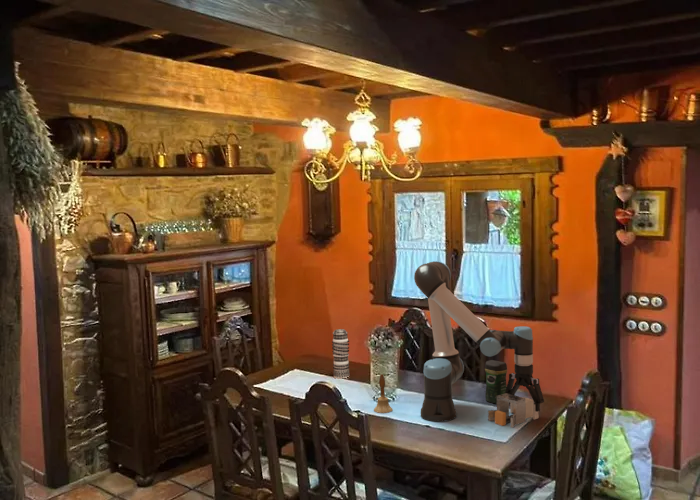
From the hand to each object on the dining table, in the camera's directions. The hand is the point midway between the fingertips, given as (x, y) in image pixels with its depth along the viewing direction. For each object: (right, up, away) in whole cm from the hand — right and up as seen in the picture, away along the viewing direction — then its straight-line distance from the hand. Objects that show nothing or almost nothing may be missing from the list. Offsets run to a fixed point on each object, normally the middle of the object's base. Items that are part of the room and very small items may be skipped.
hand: (524, 415), depth 281 cm
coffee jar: (-7, +1, +21) cm, 22 cm away
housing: (-8, -1, -6) cm, 11 cm away
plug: (-5, -1, -4) cm, 7 cm away
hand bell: (-59, -1, +13) cm, 60 cm away
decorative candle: (-78, +2, +71) cm, 105 cm away
